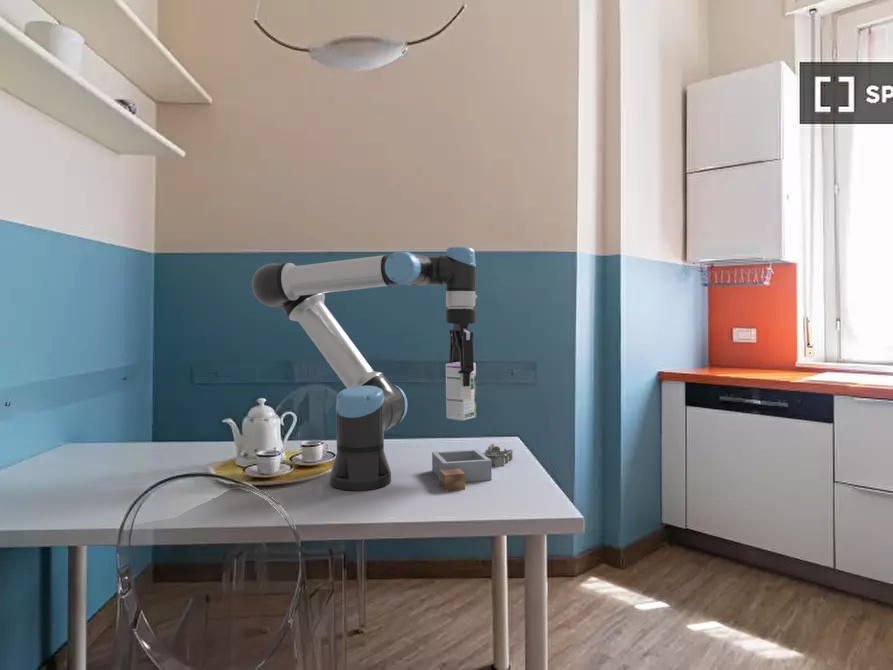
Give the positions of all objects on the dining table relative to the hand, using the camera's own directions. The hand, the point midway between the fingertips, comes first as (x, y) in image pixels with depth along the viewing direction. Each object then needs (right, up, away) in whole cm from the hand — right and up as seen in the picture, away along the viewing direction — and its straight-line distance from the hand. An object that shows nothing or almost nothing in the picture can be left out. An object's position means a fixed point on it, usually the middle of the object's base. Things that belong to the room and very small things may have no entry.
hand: (460, 396), depth 164 cm
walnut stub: (-2, -21, -10) cm, 24 cm away
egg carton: (+11, -20, +15) cm, 28 cm away
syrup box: (0, -6, 0) cm, 6 cm away
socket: (0, -21, +1) cm, 21 cm away
